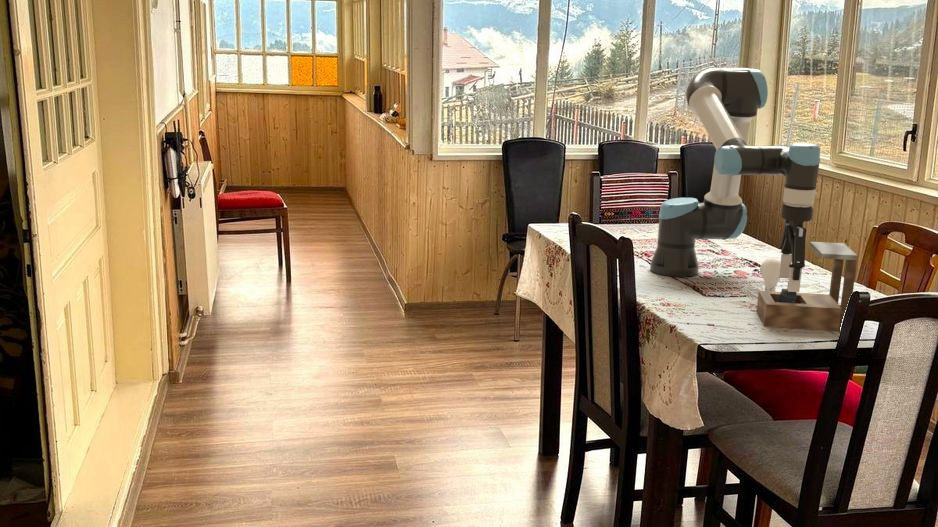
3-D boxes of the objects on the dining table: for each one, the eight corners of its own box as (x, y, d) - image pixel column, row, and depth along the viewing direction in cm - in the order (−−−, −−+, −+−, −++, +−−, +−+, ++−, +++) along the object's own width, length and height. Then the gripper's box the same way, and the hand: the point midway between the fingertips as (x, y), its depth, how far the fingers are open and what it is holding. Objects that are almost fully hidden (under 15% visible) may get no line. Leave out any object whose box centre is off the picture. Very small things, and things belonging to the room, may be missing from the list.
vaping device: (787, 323, 227) (792, 279, 224) (775, 317, 232) (779, 274, 229) (795, 323, 228) (800, 279, 225) (783, 317, 233) (787, 274, 230)
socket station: (764, 326, 225) (772, 251, 220) (756, 311, 238) (763, 239, 233) (847, 332, 222) (857, 255, 217) (834, 315, 235) (843, 243, 230)
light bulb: (762, 290, 259) (766, 254, 256) (784, 294, 255) (788, 258, 252) (754, 294, 254) (757, 258, 251) (776, 299, 250) (780, 262, 247)
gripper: (824, 214, 211) (813, 299, 216) (803, 196, 234) (794, 272, 239) (792, 213, 212) (782, 297, 217) (774, 194, 235) (766, 271, 241)
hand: (788, 284), depth 228 cm, fingers open, 12 cm apart
